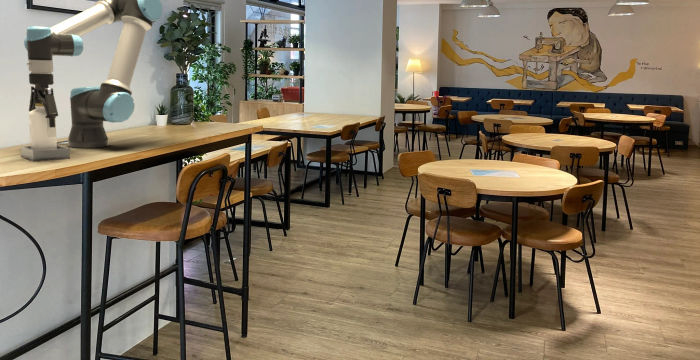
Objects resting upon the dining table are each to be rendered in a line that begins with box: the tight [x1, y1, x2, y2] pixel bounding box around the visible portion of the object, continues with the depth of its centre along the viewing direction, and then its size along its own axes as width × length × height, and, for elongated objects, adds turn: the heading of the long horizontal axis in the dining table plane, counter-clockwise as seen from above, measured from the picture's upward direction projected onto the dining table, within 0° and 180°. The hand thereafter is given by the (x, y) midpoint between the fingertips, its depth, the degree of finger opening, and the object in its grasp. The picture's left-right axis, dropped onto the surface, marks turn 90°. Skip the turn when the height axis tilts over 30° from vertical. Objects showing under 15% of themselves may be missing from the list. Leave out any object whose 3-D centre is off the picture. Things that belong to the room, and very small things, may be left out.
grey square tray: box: [20, 144, 71, 162], centre depth 222 cm, size 12×12×4 cm
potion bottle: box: [28, 103, 58, 151], centre depth 221 cm, size 8×8×18 cm
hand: (44, 134), depth 221 cm, fingers open, 13 cm apart
